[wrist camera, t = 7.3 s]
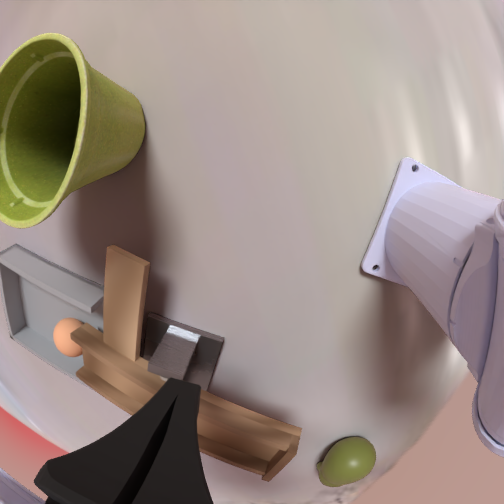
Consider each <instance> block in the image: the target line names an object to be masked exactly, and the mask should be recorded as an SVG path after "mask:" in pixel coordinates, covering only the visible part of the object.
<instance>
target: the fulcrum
mask: <svg viewBox="0 0 504 504" xmlns="http://www.w3.org/2000/svg"><path fill="white" fill-rule="evenodd" d="M223 339H224V338H223V337H220V336H217V335H214V334H211V333H208V332H205V331H202V330H199V329H196V328H193V327H190V326H187V325H185V324H182V323H179V322H176V321H173V320H171V319H168V318H165V317H163V316H160V315H157V314H155V313H152V312H150V314H149V315H148V318H147V326H146V335H145V345H144V356H143V359H145V360H147V361H149V362H148V370H147V371H149V372H151V373H154V374H156V375H159V376H161V377H164V378H167V379H168V378H171V377H172V378H175V379H179V380H184V381H186V382H190V383H194V384H198V385H200V386H201V389H202V390H205V391H207V388H208V385H209V382H210V379H211V376H212V373H213V370H214V367H215V364H216V361H217V358H218V355H219V352H220V349H221V346H222V343H223Z"/></svg>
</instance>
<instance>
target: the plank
mask: <svg viewBox="0 0 504 504" xmlns="http://www.w3.org/2000/svg"><path fill="white" fill-rule="evenodd" d="M149 270H150V262H148V261H146V260H144V259H142V258H139V257H137V256H135V255H133V254H131V253H129V252H127V251H125V250H123V249H121V248H119V247H117V246H115V245H111V246H108V247H107V253H106V265H105V280H104V306H103V333H102V332H100V331H99V330H97V329H96V328H94V327H93V326H91V325H90V324H88V323H87V322H86V323H85V324H83V325H82V326H80V327H79V328H77V329H76V330H74V331H73V332H71V333H70V337H71V340H73V341H74V342H75V343H76V344H78V345H79V346H80V347H82V353H83V362H84V366H82V367H81V368H80V369H79V370H78V371H76V377H78V378H79V379H80V380H81V381H83V382H84V383H85V384H87V385H88V386H89V387H91V388H92V389H93V390H95V391H96V392H98V393H99V394H100V395H102V396H103V397H105V398H106V399H107V400H109V401H110V402H112V403H113V404H115V405H116V406H118V407H119V408H121V409H122V410H124V411H126V412H127V413H129V414H130V415H132V416H133V415H134V414H135V413H136V412H137V411H139V410H140V409H141V408H142V407H143V406H144V405H145V404H146V403H147V402H148V401H149V400H150V399H151V398H152V397H153V396H154V395H155V394H156V393H157V392H158V391H159V389H160V388H161V387H162V386H163V385H164V384H165V382H166V381H167V380H168V379H167V378H164V377H161V376H159V375H156V374H154V373H151V372H149V371H147V370H148V362H149V361H147V360H145V359H143V358H142V357H140V344H141V333H142V323H143V314H144V306H145V298H146V290H147V283H148V276H149ZM182 381H184V380H182ZM301 430H302V428H299V427H296V426H293V425H290V424H287V423H284V422H281V421H278V420H275V419H273V418H270V417H267V416H264V415H262V414H259V413H256V412H254V411H251V410H249V409H246V408H244V407H241V406H239V405H236V404H234V403H232V402H229V401H227V400H225V399H222V398H220V397H218V396H216V395H213V394H211V393H209V392H207V391H205V390H202V389H201V394H200V405H199V413H198V418H197V434H198V444H199V451H200V452H202V453H204V454H207V455H209V456H211V457H214V458H216V459H218V460H221V461H223V462H226V463H228V464H231V465H234V466H236V467H239V468H242V469H245V470H247V471H250V472H253V473H256V474H259V475H262V480H265V481H268V482H269V481H270V480H271V479H272V478H273V477H274V476H275V475H276V474H277V473H278V472H279V471H281V470H282V469H283V468H284V467H285V466H286V465H287V464H288V463H289V462H290V461H291V460H292V458H293V457H294V456H295V455H296V454H297V449H298V445H299V440H300V435H301Z"/></svg>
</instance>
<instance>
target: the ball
mask: <svg viewBox="0 0 504 504" xmlns="http://www.w3.org/2000/svg"><path fill="white" fill-rule="evenodd" d="M82 325H83V323H82V322H81V321H80V320H78V319H75V318H64V319H62V320H60V321H59V322H58V323H57V325H56V326H55V328H54V332H53V339H54V343H55V345H56V347H57V348H58V350H59V351H60V352H61V353H63V354H64V355H66V356H69V357H78V356H80V355H82V354H83V353H82V347H80V346H79V345H78V344H76V343H75V342H74V341H73V340H71V337H70V333H71V332H73V331H74V330H76V329H77V328H79V327H80V326H82Z"/></svg>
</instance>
